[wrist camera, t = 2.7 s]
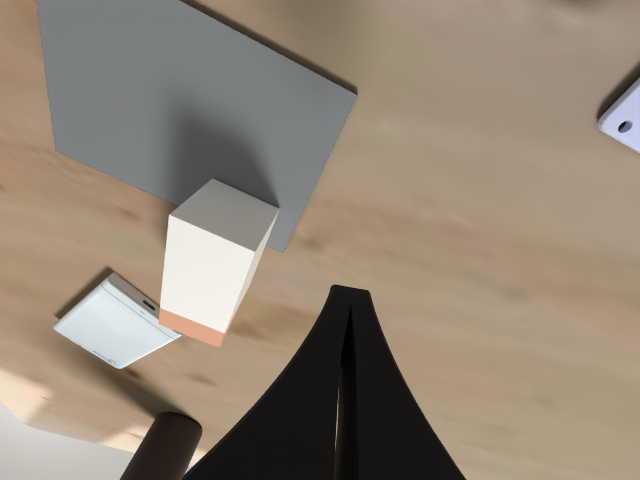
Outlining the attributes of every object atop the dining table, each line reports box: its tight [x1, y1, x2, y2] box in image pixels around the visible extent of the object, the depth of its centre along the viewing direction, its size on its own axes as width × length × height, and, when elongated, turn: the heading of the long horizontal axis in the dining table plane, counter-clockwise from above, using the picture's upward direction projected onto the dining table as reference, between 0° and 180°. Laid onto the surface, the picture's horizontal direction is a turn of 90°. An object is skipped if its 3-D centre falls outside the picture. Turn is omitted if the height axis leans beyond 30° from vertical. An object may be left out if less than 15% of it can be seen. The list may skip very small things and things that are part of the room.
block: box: [158, 178, 280, 348], centre depth 19 cm, size 4×4×10 cm
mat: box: [36, 0, 358, 253], centre depth 16 cm, size 16×11×1 cm
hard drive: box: [53, 272, 183, 369], centre depth 28 cm, size 2×8×12 cm
